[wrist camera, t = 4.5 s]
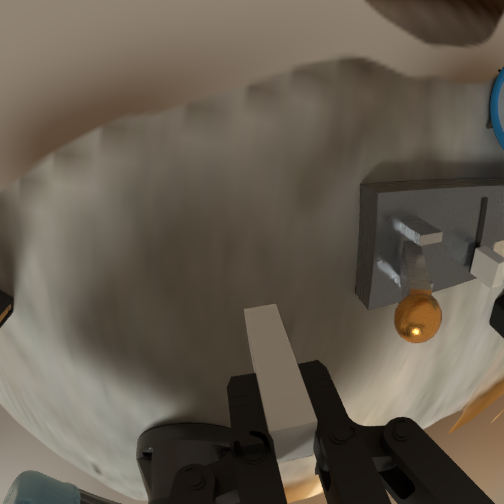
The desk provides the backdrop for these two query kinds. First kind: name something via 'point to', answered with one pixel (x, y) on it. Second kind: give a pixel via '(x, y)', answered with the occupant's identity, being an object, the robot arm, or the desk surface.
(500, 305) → the battery
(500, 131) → the alarm clock
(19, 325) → the desk surface
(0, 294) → the ammunition clip
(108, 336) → the desk surface
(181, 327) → the desk surface
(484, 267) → the slider
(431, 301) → the lever
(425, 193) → the panel
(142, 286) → the desk surface
